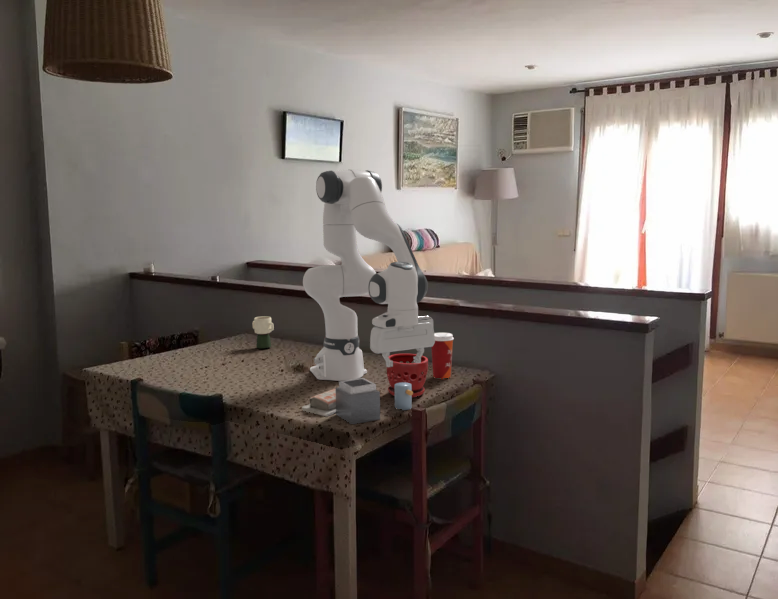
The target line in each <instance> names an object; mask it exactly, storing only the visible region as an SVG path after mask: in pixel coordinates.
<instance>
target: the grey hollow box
mask: <svg viewBox="0 0 778 599" xmlns="http://www.w3.org/2000/svg"><path fill="white" fill-rule="evenodd" d="M335 388H336V413H335V416H337V417H338V418H340V417H341V418H340V419H342V420H343V419H344V421H345V420H346V421H347V422H346V421H345V422H346V423H348V422H349V423H348V424H349V425H351V424H353V425H357V423H358V424H361V423H368V422H373V421H378V420H381V391H379V390H378V389H377V384H376V383H374V382H373V381H370V380H368V379H366V378H365V377H360V378H358V379H353V380H345V381H338V386H337V387H335Z"/></svg>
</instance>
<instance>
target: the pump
mask: <svg viewBox="0 0 778 599" xmlns="http://www.w3.org/2000/svg"><path fill="white" fill-rule="evenodd" d="M412 395H413V392H412V385H411V384H410V383H405V382H401V383H396V384H395V396H394V409H395V408H397V409H402V410H401V411H408V410H411V409H412V407H413V406H412V404H413V402H412V401H413V400H412V399H413V398H412ZM397 409H396V410H397Z"/></svg>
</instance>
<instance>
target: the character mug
mask: <svg viewBox="0 0 778 599" xmlns="http://www.w3.org/2000/svg"><path fill="white" fill-rule="evenodd" d="M251 325H252V329H253V330H254V334H257V336H256V345H255V346H256V348H257V349H266V348H267V349H268V348H272V341H271V336H270V333H272V331H274V330H275V329H274V328H275V327H274V323H273V322H272V317H271V316H267V315H266V316H265V315H264V316H256V317H254V318H253V321H252V324H251Z"/></svg>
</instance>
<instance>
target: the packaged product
mask: <svg viewBox="0 0 778 599" xmlns="http://www.w3.org/2000/svg"><path fill="white" fill-rule="evenodd" d="M336 388H337V387H335V388H332V389H330V390H327V391H324V392H322V393H319V394H315V395H313V396H311V397H310V398H309V404H306V405H303V406H301V410H303V411H302V412H305V411H306V412H305V413H309V412H310V413H309V414H313V413H314V414H315V415H319V416H323V417H330V416H332V415H334V414H336Z"/></svg>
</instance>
